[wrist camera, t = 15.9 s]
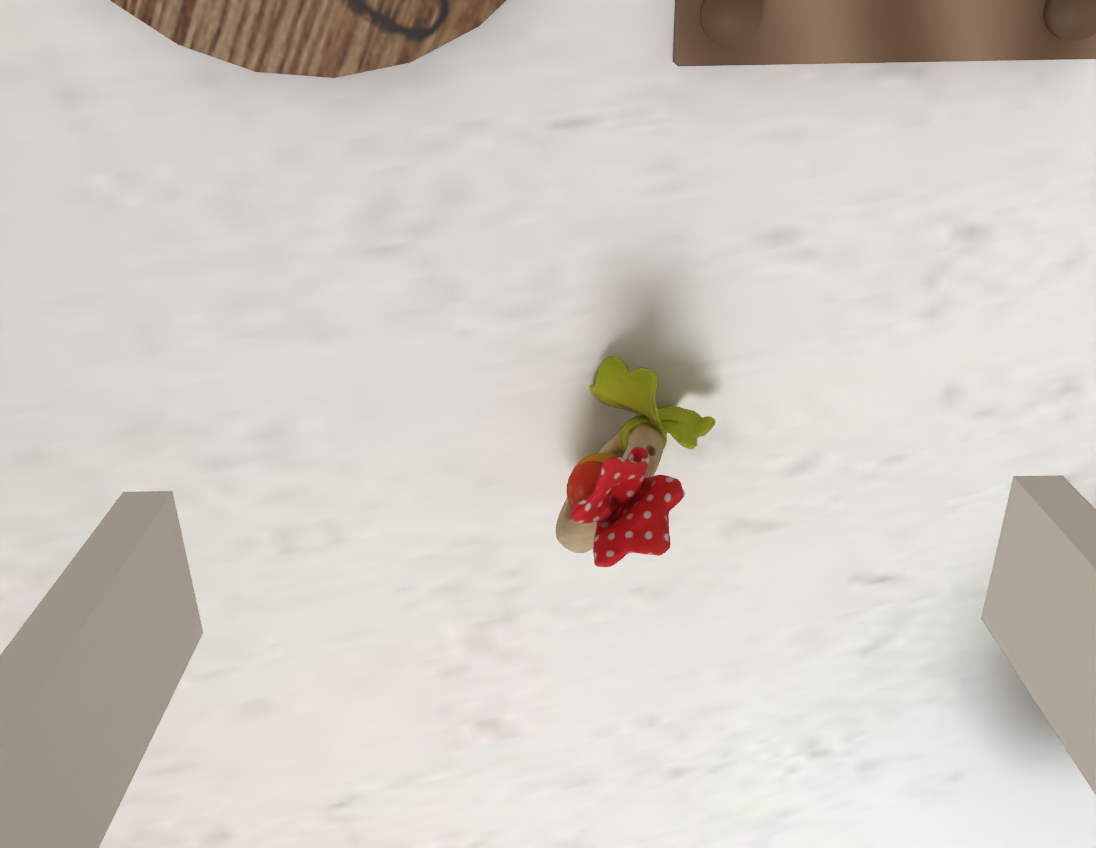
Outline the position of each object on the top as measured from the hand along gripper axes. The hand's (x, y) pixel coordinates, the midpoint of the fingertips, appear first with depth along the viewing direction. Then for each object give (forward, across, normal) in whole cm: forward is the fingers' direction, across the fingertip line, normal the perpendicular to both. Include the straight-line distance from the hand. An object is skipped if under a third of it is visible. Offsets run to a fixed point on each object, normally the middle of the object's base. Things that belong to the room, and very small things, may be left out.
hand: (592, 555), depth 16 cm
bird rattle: (+32, -3, +14) cm, 35 cm away
